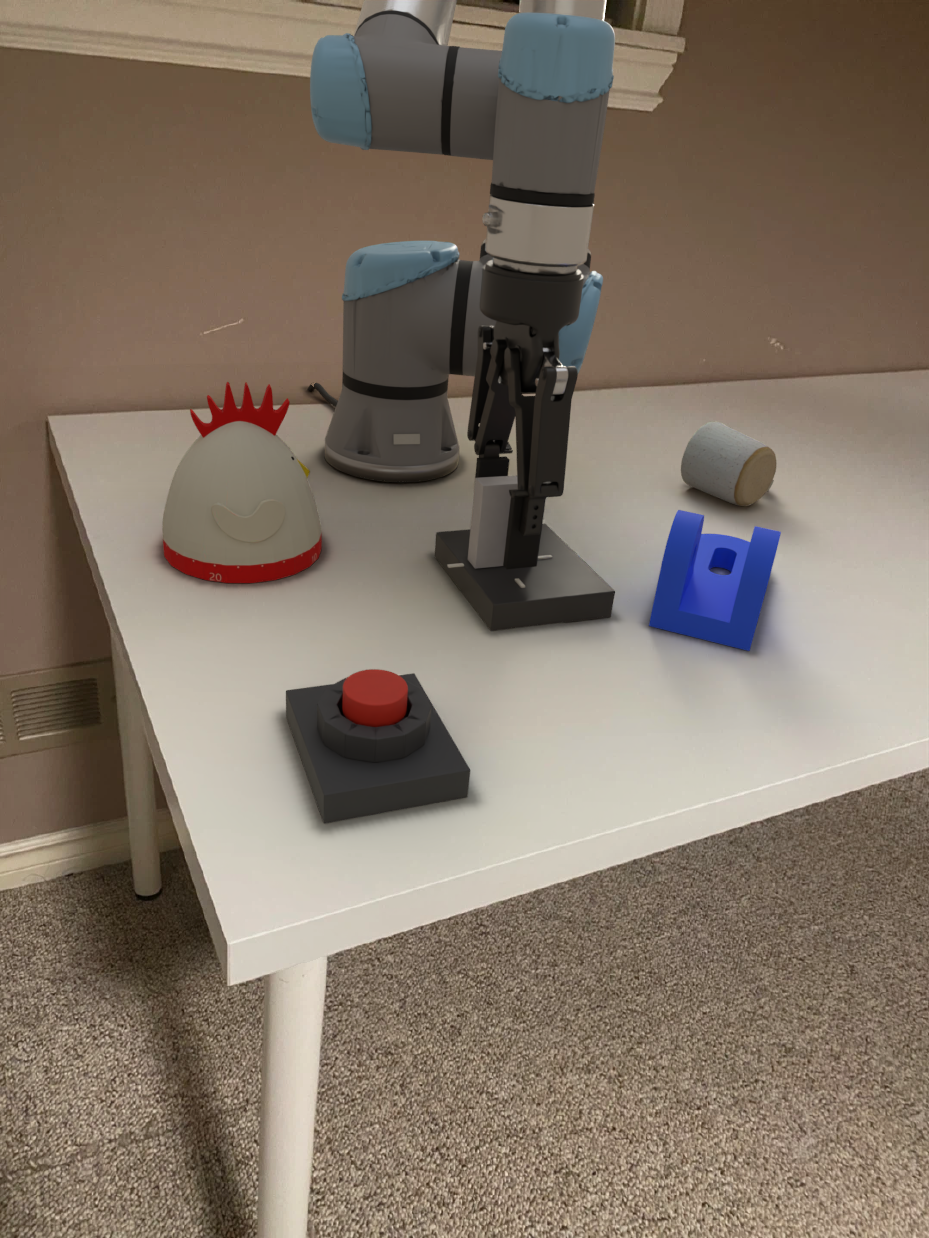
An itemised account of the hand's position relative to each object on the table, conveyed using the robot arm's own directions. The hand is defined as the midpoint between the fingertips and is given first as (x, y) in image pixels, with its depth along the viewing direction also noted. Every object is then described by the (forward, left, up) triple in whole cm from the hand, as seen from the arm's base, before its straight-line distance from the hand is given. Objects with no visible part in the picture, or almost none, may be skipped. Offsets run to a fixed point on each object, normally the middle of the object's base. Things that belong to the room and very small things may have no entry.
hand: (502, 546), depth 81 cm
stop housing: (+20, -17, -4) cm, 27 cm away
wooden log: (-16, +35, -4) cm, 39 cm away
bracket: (+5, +19, -4) cm, 20 cm away
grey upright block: (0, 0, -1) cm, 1 cm away
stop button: (+20, -17, 0) cm, 26 cm away
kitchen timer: (-12, -20, -4) cm, 24 cm away
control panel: (0, +2, -4) cm, 4 cm away
